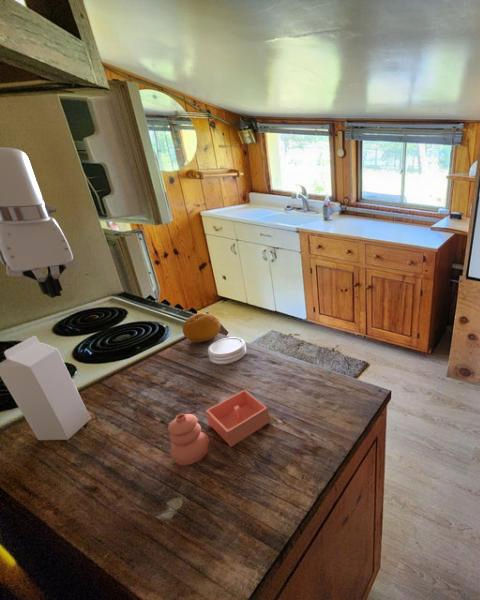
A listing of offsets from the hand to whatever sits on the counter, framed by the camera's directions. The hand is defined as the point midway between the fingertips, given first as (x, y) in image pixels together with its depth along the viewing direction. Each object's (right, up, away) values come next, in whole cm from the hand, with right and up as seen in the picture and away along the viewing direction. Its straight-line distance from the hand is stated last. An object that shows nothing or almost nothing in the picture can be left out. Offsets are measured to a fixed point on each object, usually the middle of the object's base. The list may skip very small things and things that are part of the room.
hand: (53, 295), depth 74 cm
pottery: (+40, -31, -3) cm, 50 cm away
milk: (+6, -29, -3) cm, 30 cm away
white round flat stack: (+27, -18, +24) cm, 40 cm away
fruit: (+15, -14, +32) cm, 38 cm away
